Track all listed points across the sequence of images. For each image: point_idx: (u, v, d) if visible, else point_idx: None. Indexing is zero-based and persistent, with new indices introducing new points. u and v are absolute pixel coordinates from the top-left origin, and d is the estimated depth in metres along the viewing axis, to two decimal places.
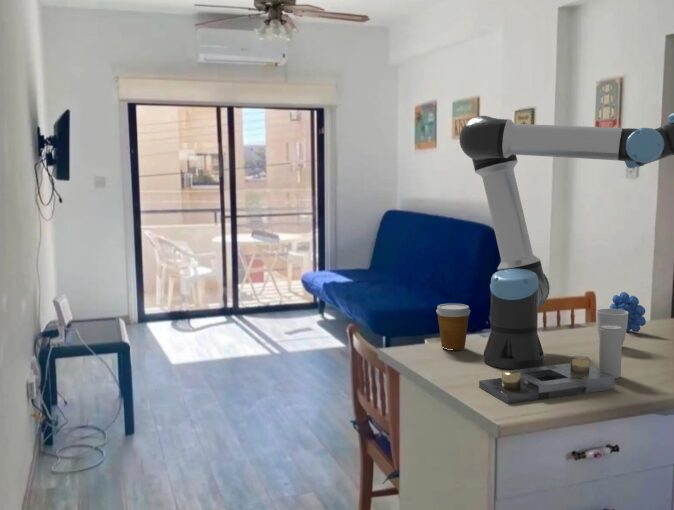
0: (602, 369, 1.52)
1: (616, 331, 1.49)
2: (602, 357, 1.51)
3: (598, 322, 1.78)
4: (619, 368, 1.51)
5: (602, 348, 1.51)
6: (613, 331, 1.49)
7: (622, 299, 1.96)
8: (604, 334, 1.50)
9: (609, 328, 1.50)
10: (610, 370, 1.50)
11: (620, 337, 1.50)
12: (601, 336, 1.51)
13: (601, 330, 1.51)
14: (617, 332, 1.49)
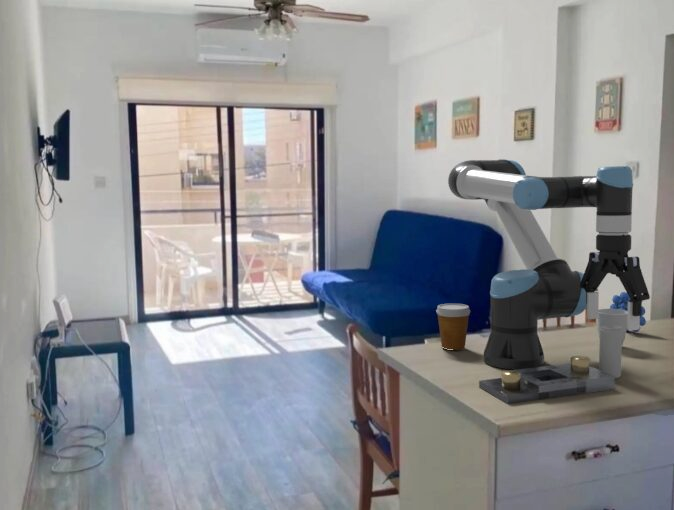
0: (602, 369, 1.52)
1: (616, 331, 1.49)
2: (602, 357, 1.51)
3: (598, 322, 1.78)
4: (619, 368, 1.51)
5: (602, 348, 1.51)
6: (613, 331, 1.49)
7: (622, 299, 1.96)
8: (604, 334, 1.50)
9: (609, 328, 1.50)
10: (610, 370, 1.50)
11: (620, 337, 1.50)
12: (601, 336, 1.51)
13: (601, 330, 1.51)
14: (617, 332, 1.49)
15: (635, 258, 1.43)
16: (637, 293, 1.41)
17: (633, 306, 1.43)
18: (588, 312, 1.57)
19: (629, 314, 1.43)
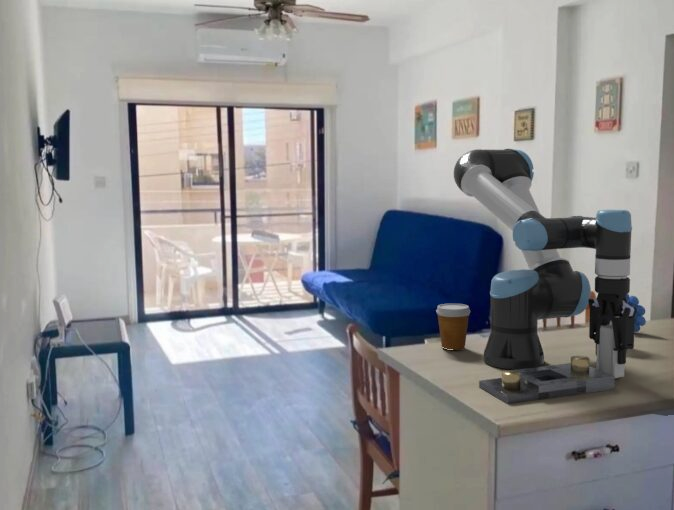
0: (602, 369, 1.52)
1: None
2: (602, 357, 1.51)
3: None
4: None
5: (602, 348, 1.51)
6: None
7: None
8: (604, 334, 1.50)
9: (609, 328, 1.50)
10: (610, 370, 1.50)
11: None
12: (601, 336, 1.51)
13: (601, 330, 1.51)
14: None
15: (633, 310, 1.45)
16: (623, 343, 1.46)
17: (618, 355, 1.49)
18: (597, 364, 1.55)
19: (614, 362, 1.49)
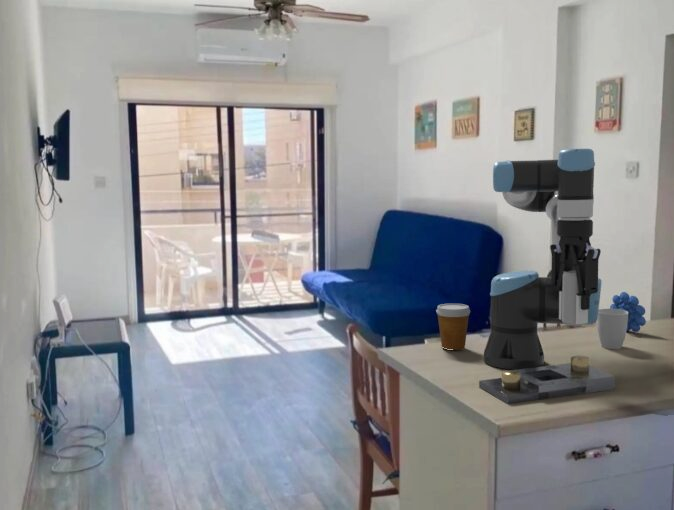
0: (565, 316, 1.45)
1: None
2: (565, 304, 1.45)
3: (598, 322, 1.78)
4: None
5: (566, 294, 1.45)
6: (576, 276, 1.43)
7: (622, 299, 1.96)
8: (567, 280, 1.44)
9: (572, 273, 1.44)
10: (574, 316, 1.44)
11: None
12: (564, 282, 1.45)
13: (564, 275, 1.45)
14: None
15: (597, 251, 1.39)
16: (587, 286, 1.40)
17: (582, 300, 1.43)
18: (560, 312, 1.48)
19: (578, 307, 1.43)
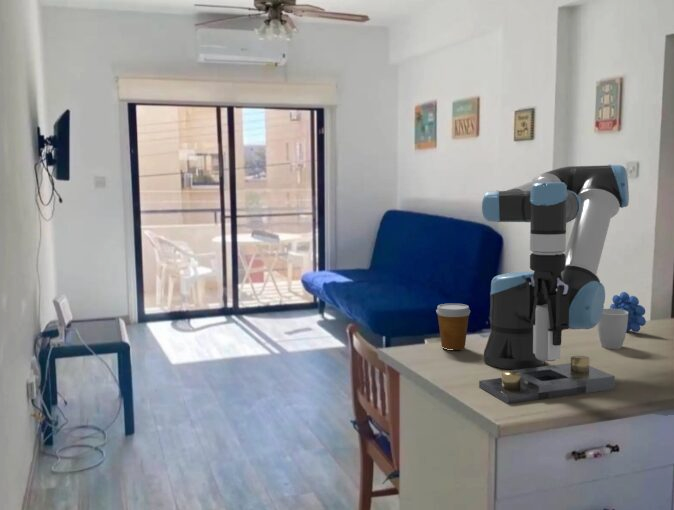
0: (537, 351, 1.43)
1: None
2: (537, 338, 1.43)
3: (598, 322, 1.78)
4: None
5: (538, 328, 1.43)
6: None
7: (622, 299, 1.96)
8: (539, 314, 1.42)
9: (544, 307, 1.42)
10: (546, 351, 1.42)
11: None
12: (536, 316, 1.43)
13: (536, 310, 1.43)
14: None
15: (567, 287, 1.36)
16: (557, 322, 1.38)
17: (553, 335, 1.40)
18: (534, 346, 1.46)
19: (549, 343, 1.41)
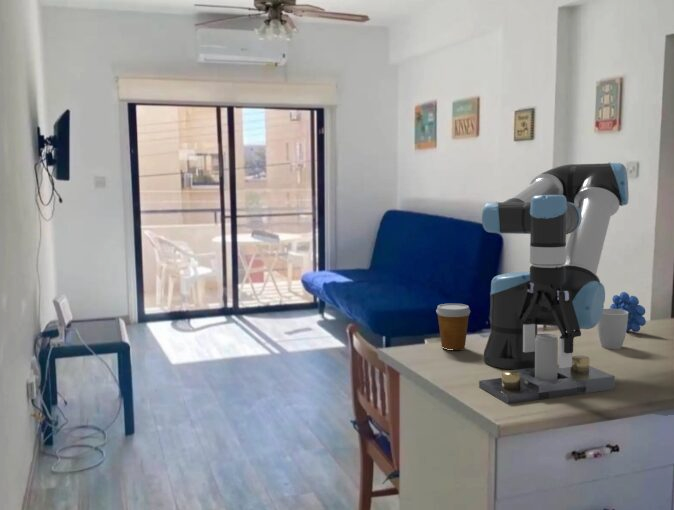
0: None
1: (551, 341, 1.42)
2: (537, 368, 1.44)
3: (598, 322, 1.78)
4: (555, 379, 1.43)
5: (537, 358, 1.44)
6: (547, 341, 1.42)
7: (622, 299, 1.96)
8: (538, 344, 1.43)
9: (544, 337, 1.43)
10: None
11: (555, 347, 1.42)
12: (536, 346, 1.44)
13: (536, 339, 1.44)
14: (552, 342, 1.42)
15: (567, 292, 1.36)
16: (568, 330, 1.35)
17: (565, 343, 1.37)
18: (524, 345, 1.50)
19: (561, 351, 1.37)
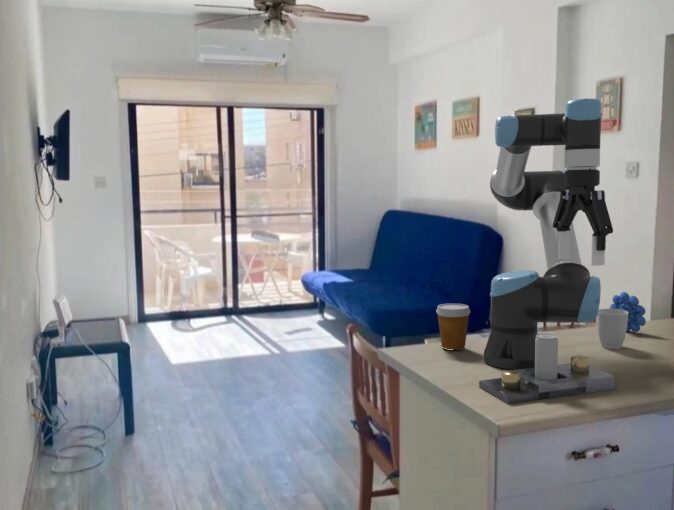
0: None
1: (551, 341, 1.42)
2: (537, 368, 1.44)
3: (598, 322, 1.78)
4: (555, 379, 1.43)
5: (537, 358, 1.44)
6: (548, 341, 1.42)
7: (622, 299, 1.96)
8: (538, 344, 1.43)
9: (544, 337, 1.43)
10: None
11: (555, 347, 1.42)
12: (536, 346, 1.44)
13: (536, 339, 1.44)
14: (552, 342, 1.42)
15: (600, 192, 1.40)
16: (600, 226, 1.39)
17: (597, 241, 1.41)
18: (559, 251, 1.55)
19: (593, 248, 1.41)
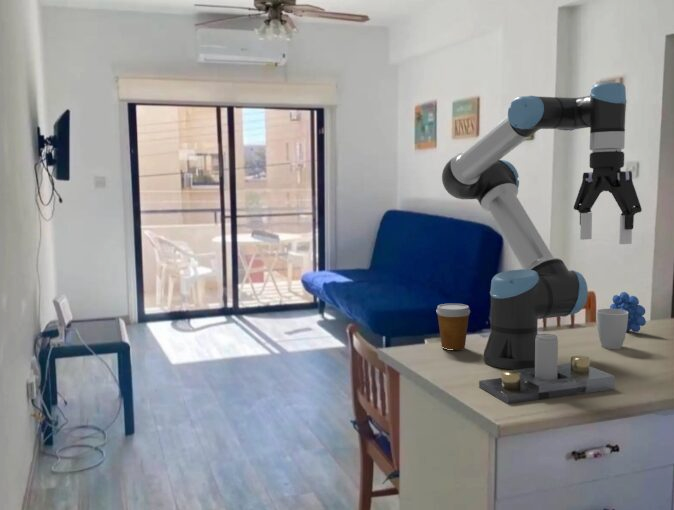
0: None
1: (551, 341, 1.42)
2: (537, 368, 1.44)
3: (598, 322, 1.78)
4: (555, 379, 1.43)
5: (537, 358, 1.44)
6: (548, 341, 1.42)
7: (622, 299, 1.96)
8: (538, 344, 1.43)
9: (544, 337, 1.43)
10: None
11: (555, 347, 1.42)
12: (536, 346, 1.44)
13: (536, 339, 1.44)
14: (552, 342, 1.42)
15: (628, 172, 1.45)
16: (629, 206, 1.43)
17: (625, 220, 1.45)
18: (581, 232, 1.59)
19: (622, 227, 1.46)
